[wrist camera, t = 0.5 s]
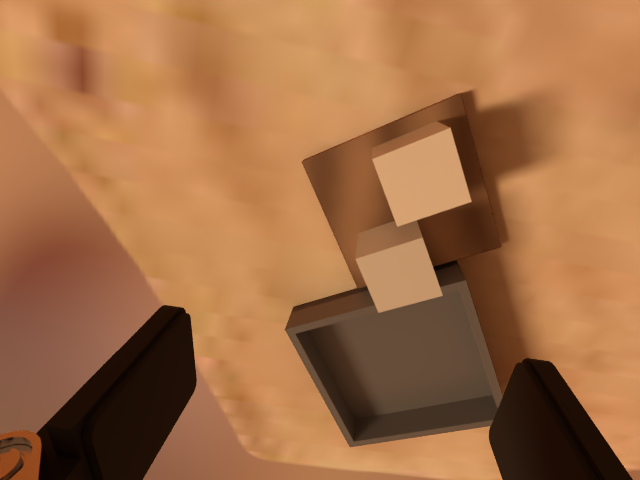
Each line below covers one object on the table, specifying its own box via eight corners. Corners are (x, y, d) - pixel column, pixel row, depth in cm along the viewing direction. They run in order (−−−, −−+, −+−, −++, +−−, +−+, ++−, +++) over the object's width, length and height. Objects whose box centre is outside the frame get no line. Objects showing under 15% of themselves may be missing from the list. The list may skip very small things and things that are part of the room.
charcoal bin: (455, 259, 33) (466, 280, 29) (498, 391, 39) (511, 422, 35) (293, 307, 38) (285, 329, 34) (351, 417, 44) (350, 447, 40)
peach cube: (436, 121, 27) (450, 127, 22) (454, 183, 29) (471, 201, 24) (372, 147, 29) (372, 159, 24) (393, 205, 31) (397, 226, 26)
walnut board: (457, 93, 27) (460, 93, 26) (497, 242, 32) (501, 246, 31) (303, 159, 31) (301, 161, 30) (358, 283, 36) (357, 288, 35)
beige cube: (414, 214, 31) (422, 237, 26) (432, 264, 32) (442, 295, 27) (358, 233, 32) (355, 258, 27) (377, 280, 34) (378, 312, 29)
